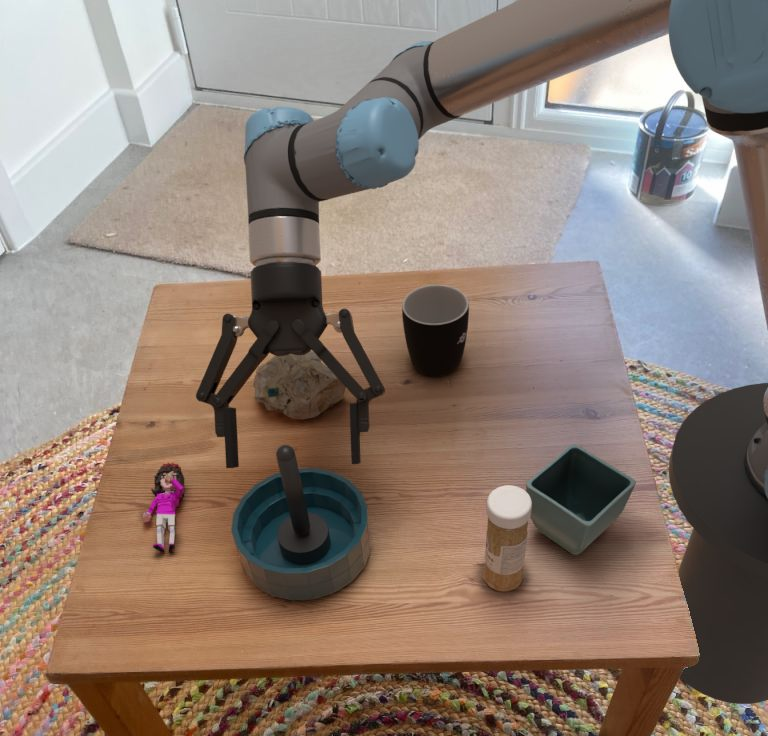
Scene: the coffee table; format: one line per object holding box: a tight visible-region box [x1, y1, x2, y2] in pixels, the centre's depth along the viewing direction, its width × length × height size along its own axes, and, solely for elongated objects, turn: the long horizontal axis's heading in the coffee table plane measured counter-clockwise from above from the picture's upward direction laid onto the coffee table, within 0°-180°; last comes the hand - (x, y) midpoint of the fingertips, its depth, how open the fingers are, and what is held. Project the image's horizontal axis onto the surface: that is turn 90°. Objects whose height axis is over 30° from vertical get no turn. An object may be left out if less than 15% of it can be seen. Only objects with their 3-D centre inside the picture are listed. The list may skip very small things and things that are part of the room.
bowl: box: [231, 467, 372, 601], centre depth 98 cm, size 15×15×6 cm
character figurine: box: [141, 462, 185, 554], centre depth 103 cm, size 6×5×12 cm
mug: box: [401, 284, 470, 378], centre depth 117 cm, size 12×9×10 cm
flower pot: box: [525, 443, 637, 556], centre depth 95 cm, size 9×9×9 cm
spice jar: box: [482, 484, 532, 592], centre depth 90 cm, size 5×5×14 cm
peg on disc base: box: [275, 444, 331, 565], centre depth 93 cm, size 6×6×16 cm
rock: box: [252, 350, 346, 420], centre depth 113 cm, size 12×7×10 cm, turn 76°
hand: (294, 466), depth 92 cm, fingers open, 13 cm apart
